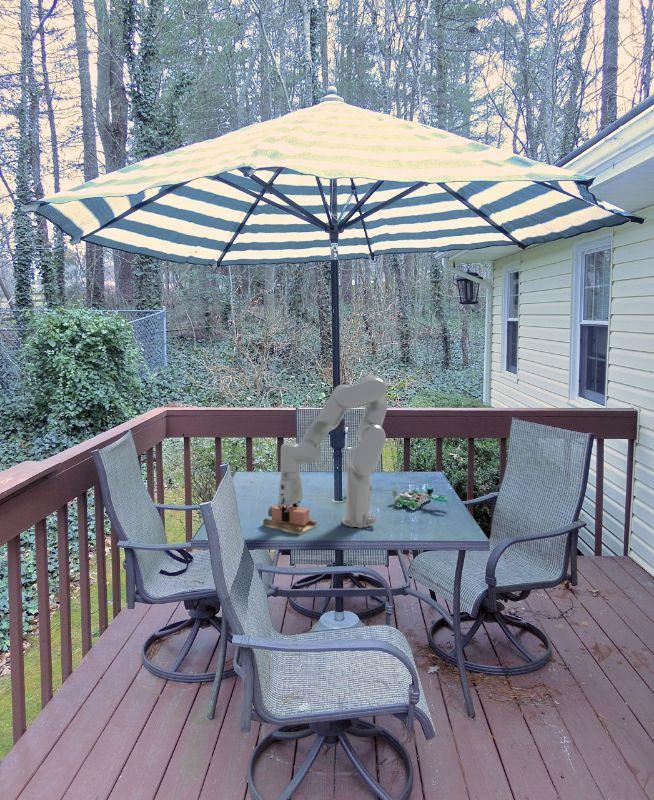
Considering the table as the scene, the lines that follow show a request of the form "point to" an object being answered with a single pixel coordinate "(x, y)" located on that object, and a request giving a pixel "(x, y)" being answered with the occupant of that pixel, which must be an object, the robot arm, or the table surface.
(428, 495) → the robot kit
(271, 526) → the cradle
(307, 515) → the salmon rectangular block
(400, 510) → the table surface
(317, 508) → the table surface
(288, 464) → the robot arm
